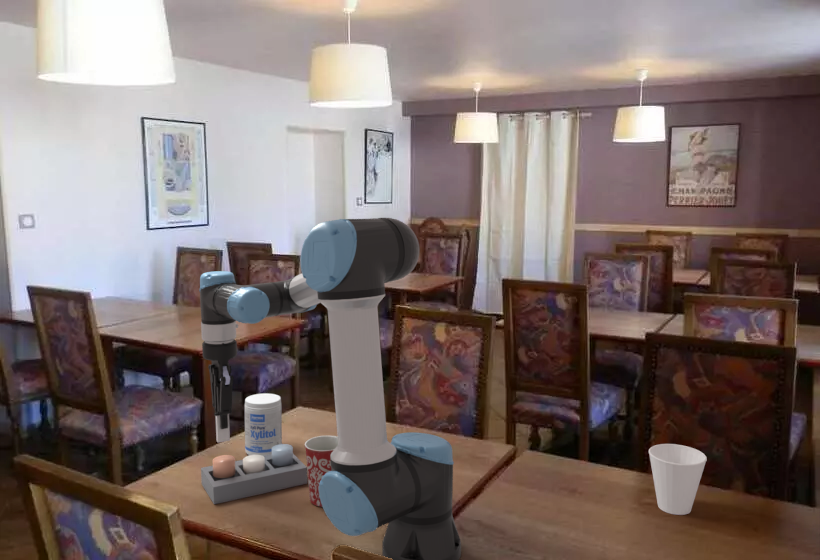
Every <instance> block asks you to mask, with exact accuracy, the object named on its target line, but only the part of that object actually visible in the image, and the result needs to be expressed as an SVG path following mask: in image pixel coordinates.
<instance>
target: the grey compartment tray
mask: <svg viewBox="0 0 820 560" xmlns="http://www.w3.org/2000/svg"><path fill="white" fill-rule="evenodd" d="M264 457H265V471H261V472H257V473H252V474H247V475H245V474H244V473H243V459H240V460H235V471H236V473H235V475H233V476H231V477H228V478H216V477H214V476H213V465H209V466H204V467H200V476H201V477H200V479H201V480H200V481H201V485H202V488H203V489H204V491H205V492H206V494H207V495H208V497H209V499H210V500H211V502H212V503H213V505H217V504H222V503H226V502H231V501H235V500H240V499H244V498H248V497H252V496H257V495H262V494H266V493H271V492H275V491H279V490H284V489H289V488H294V487H298V486H302V485H307V484H308V470H307V465H305V464H304V462H303V461H301V459H299V457H298V456H296V454H294V453H293V462H292V463H291V464H289V465H286V466H276V465H273V464H272V454H269V455H264Z"/></svg>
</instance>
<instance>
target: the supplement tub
mask: <svg viewBox="0 0 820 560" xmlns="http://www.w3.org/2000/svg"><path fill="white" fill-rule="evenodd" d="M282 410H283V409H282V397H281V396H280V395H278V394H275V393H256V394H252V395H249V396H247V397H246V398H245V399H244V448H245V449H244V451H245V454H247V456H249V455H262V456H264V455H269V454H272V447H273V446H275V445H279V444H283V441H282V439H283V437H282V436H283V432H282V431H283V429H282V427H283V425H282V423H283V420H282V419H283V417H282Z"/></svg>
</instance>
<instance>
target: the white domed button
mask: <svg viewBox="0 0 820 560" xmlns="http://www.w3.org/2000/svg"><path fill="white" fill-rule="evenodd" d="M242 460H243V473H244V474H245V475H247V474H252V473H257V472H261V471H265V457H264V456H262V455H247V456H244V457H243V459H242Z"/></svg>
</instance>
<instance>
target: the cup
mask: <svg viewBox="0 0 820 560" xmlns="http://www.w3.org/2000/svg"><path fill="white" fill-rule="evenodd" d="M648 454H649V461H650V466H651V471H652V478H653V485H654V490H655V495H656V497H655V498H656V501H657V506H658V508H659V509H660V510H661V511H663V512H665V513H667V514H671V515H679V516H683V515H687V514H690V513H691V511H692V508H693V505H694V502H695V498H696V495H697V492H698V489H699V486H700V481H701V479H702V475H703V472H704V469H705V465H706V462H707V456H706V455H705V453H703V452H702V451H700V450H699V449H696V448H695V447H694V448H693V447H691V446H686V445H682V444H676V443H660V444H656V445H652V446H651V447H650V448H649V449H648Z"/></svg>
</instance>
